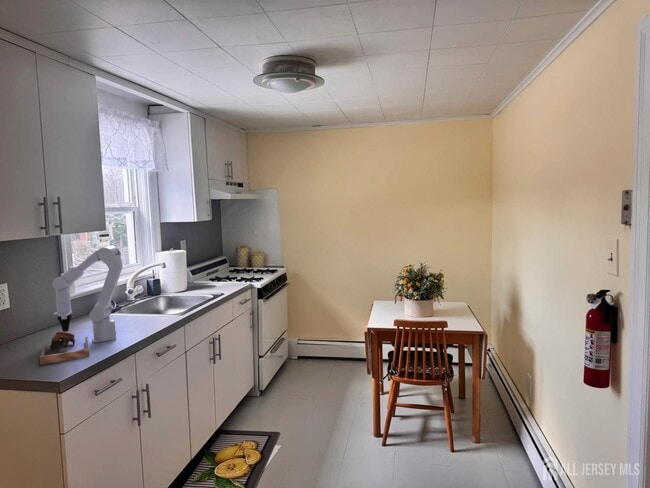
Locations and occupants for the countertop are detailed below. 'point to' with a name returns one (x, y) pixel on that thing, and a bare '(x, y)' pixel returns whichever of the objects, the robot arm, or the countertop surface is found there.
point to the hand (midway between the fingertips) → (65, 331)
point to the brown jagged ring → (64, 338)
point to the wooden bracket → (63, 354)
